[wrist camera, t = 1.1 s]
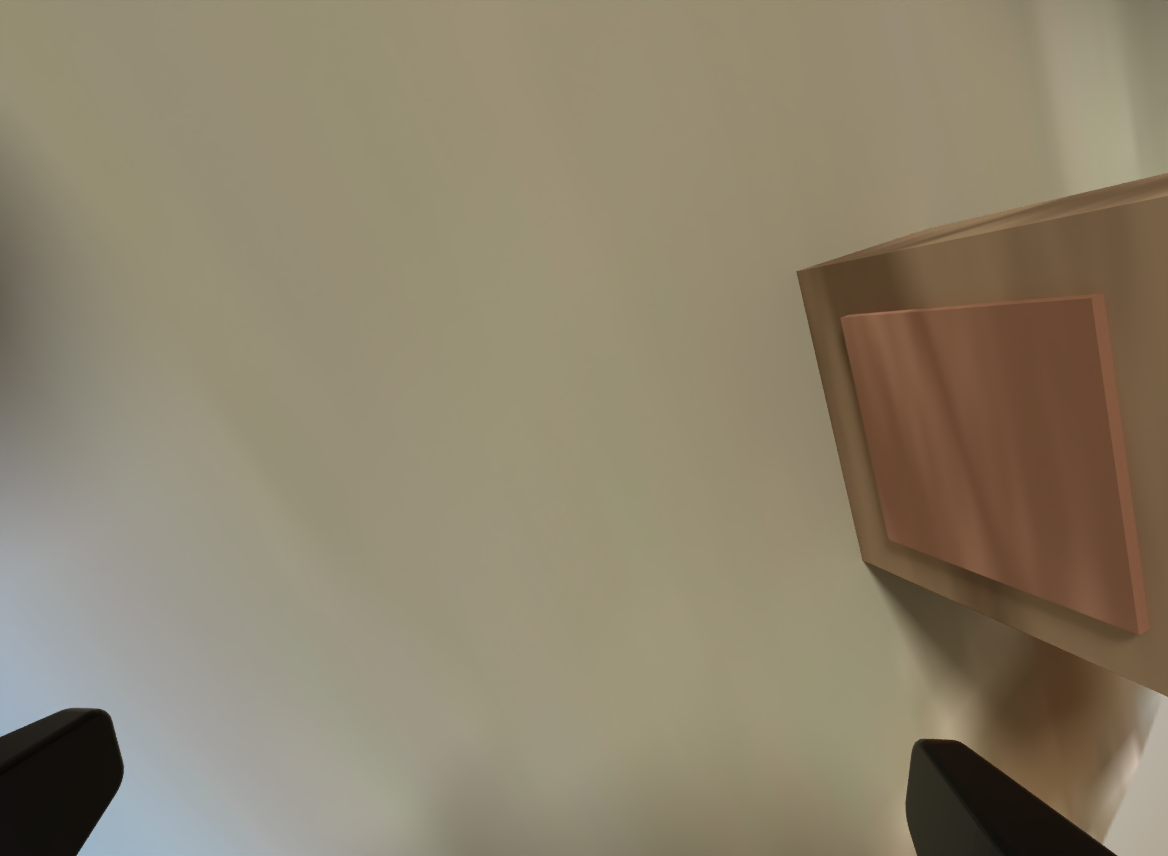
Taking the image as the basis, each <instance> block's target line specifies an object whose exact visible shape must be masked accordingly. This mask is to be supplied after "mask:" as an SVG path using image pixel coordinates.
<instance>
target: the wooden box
mask: <svg viewBox="0 0 1168 856" xmlns="http://www.w3.org/2000/svg"><path fill="white" fill-rule="evenodd" d="M797 276H798V280H799V284H800V289H801V293H802V298H803V302H804V306H805V311H806V315H807V319H808V324H809V328H810V333H811V337H812V341H813V346H814V350H815V354H816V359H817V363H818V367H819V372H820V376H821V381H822V385H823V389H824V394H825V398H826V402H827V407H828V411H829V416H830V420H831V424H832V429H833V433H834V437H835V442H836V446H837V451H838V455H839V459H840V464H841V468H842V472H843V477H844V481H845V486H846V490H847V494H848V499H849V503H850V507H851V512H852V516H853V521H854V525H855V529H856V534H857V538H858V542H859V547H860V551H861V555H862V560H863V561H865V562H868V563H870V564H872V565H874V566H877V567H879V568H881V569H883V570H886V571H888V572H890V573H892V574H894V575H897V576H899V577H901V578H903V579H906V580H908V581H910V582H912V583H915V584H917V585H919V586H921V587H924V588H926V589H928V590H930V591H933V592H935V593H937V594H939V595H941V596H944V597H946V598H948V599H950V600H953V601H955V602H957V603H959V604H962V605H964V606H966V607H968V608H971V609H973V610H975V611H977V612H980V613H982V614H984V615H986V616H988V617H991V618H993V619H995V620H997V621H1000V622H1002V623H1004V624H1006V625H1009V626H1011V627H1013V628H1015V629H1018V630H1020V631H1022V632H1024V633H1026V634H1029V635H1031V636H1033V637H1035V638H1038V639H1040V640H1042V641H1044V642H1047V643H1049V644H1051V645H1053V646H1056V647H1058V648H1060V649H1062V650H1065V651H1067V652H1069V653H1071V654H1073V655H1076V656H1078V657H1080V658H1082V659H1085V660H1087V661H1089V662H1091V663H1094V664H1096V665H1098V666H1100V667H1103V668H1105V669H1107V670H1109V671H1111V672H1114V673H1116V674H1118V675H1120V676H1123V677H1125V678H1127V679H1129V680H1132V681H1134V682H1136V683H1138V684H1141V685H1143V686H1145V687H1147V688H1150V689H1152V690H1154V691H1156V692H1158V693H1161V694H1163V695H1165V696H1167V697H1168V173H1166V174H1162V175H1158V176H1153V177H1149V178H1145V179H1140V180H1136V181H1132V182H1128V183H1123V184H1119V185H1115V186H1110V187H1106V188H1102V189H1098V190H1093V191H1089V192H1085V193H1080V194H1076V195H1072V196H1068V197H1063V198H1059V199H1055V200H1050V201H1046V202H1042V203H1038V204H1033V205H1029V206H1025V207H1020V208H1016V209H1012V210H1008V211H1003V212H999V213H995V214H990V215H986V216H982V217H978V218H973V219H969V220H965V221H960V222H956V223H952V224H948V225H943V226H939V227H935V228H930V229H926V230H923V231H920V232H917V233H913V234H910V235H907V236H904V237H901V238H898V239H895V240H892V241H889V242H886V243H883V244H880V245H877V246H873V247H870V248H867V249H864V250H861V251H858V252H855V253H852V254H849V255H846V256H843V257H840V258H837V259H833V260H830V261H827V262H824V263H821V264H818V265H815V266H812V267H809V268H806V269H803V270H800V271H797Z"/></svg>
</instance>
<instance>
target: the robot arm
mask: <svg viewBox="0 0 1168 856" xmlns="http://www.w3.org/2000/svg"><path fill="white" fill-rule="evenodd" d="M123 774H124V765H123V760H122V756H121V753H120V749H119V745H118V741H117V737H116V733H115V730H114V726H113V722H112V719H111V717H110V715H109V714H108V713H107V712H106V711H104V710H102V709H94V708H69V709H64V710H61V711H59V712H57V713H54V714H52V715H50V716H47V717H45V718H43V719H41V720H38V721H36V722H34V723H31V724H29V725H27V726H24V727H22V728H20V729H18V730H15V731H13V732H11V733H8V734H6V735H4V736H2V737H0V856H77V854H78V853H79V851H80V849H81V848H82V846H83V845H84V843H85V842H86V840H87V838H88V837H89V835H90V834H91V832H92V831H93V829H94V827H95V826H96V824H97V823H98V821H99V820H100V818H101V816H102V815H103V813H104V812H105V810H106V809H107V807H108V805H109V804H110V802H111V801H112V799H113V798H114V796H115V795H116V793H117V791H118V789H119V787H120V785H121V782H122V779H123ZM906 817H907V823H908V827H909V831H910V834H911V837H912V841H913V844H914V847H915V850H916V853H917V856H1117V855H1116V854H1114V853H1113V852H1112V851H1110V850H1109V849H1107V848H1106V847H1105V846H1103V845H1102V844H1101V843H1099V842H1098V841H1097V840H1095V839H1094V838H1092V837H1091V836H1090V835H1088V834H1087V833H1086V832H1084V831H1083V830H1081V829H1080V828H1079V827H1077V826H1076V825H1075V824H1073V823H1072V822H1070V821H1069V820H1068V819H1066V818H1065V817H1064V816H1062V815H1061V814H1059V813H1058V812H1057V811H1055V810H1054V809H1053V808H1051V807H1050V806H1048V805H1047V804H1046V803H1044V802H1043V801H1042V800H1040V799H1039V798H1037V797H1036V796H1035V795H1033V794H1032V793H1031V792H1029V791H1028V790H1026V789H1025V788H1024V787H1022V786H1021V785H1020V784H1018V783H1017V782H1015V781H1014V780H1013V779H1011V778H1010V777H1009V776H1007V775H1006V774H1004V773H1003V772H1002V771H1000V770H999V769H998V768H996V767H995V766H993V765H992V764H991V763H989V762H988V761H987V760H985V759H984V758H982V757H981V756H980V755H978V754H977V753H976V752H974V751H973V750H971V749H970V748H969V747H967V746H966V745H964V744H963V743H961V742H959V741H955V740H943V739H920V740H918V741H917V742H915V744H914V746H913V749H912V754H911V762H910V770H909V778H908V786H907V794H906Z"/></svg>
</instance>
